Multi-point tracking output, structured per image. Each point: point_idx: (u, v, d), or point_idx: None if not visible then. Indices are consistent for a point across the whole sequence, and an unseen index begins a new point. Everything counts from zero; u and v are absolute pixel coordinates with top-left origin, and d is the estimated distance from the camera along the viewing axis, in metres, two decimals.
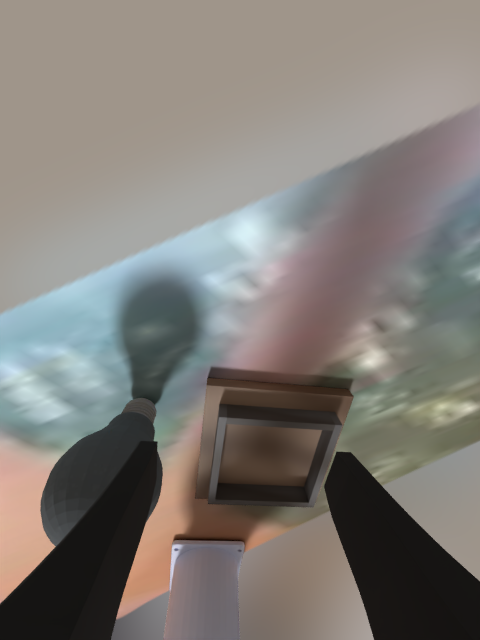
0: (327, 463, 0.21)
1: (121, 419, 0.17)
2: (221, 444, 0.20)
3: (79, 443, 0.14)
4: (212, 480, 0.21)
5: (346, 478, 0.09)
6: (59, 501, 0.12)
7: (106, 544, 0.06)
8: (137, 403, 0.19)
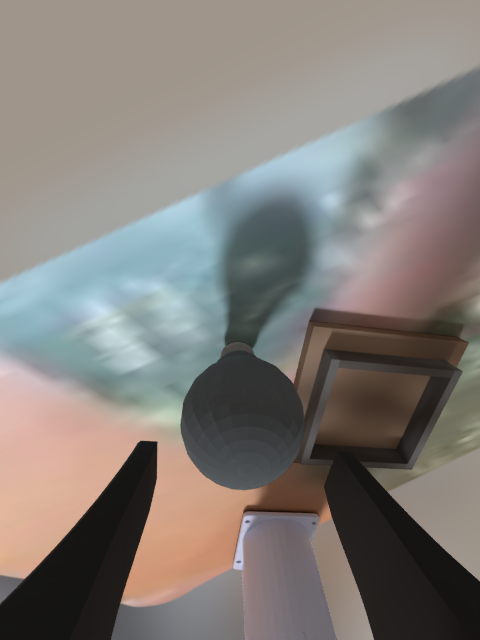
0: (437, 417, 0.19)
1: (235, 355, 0.15)
2: (328, 392, 0.18)
3: (216, 366, 0.12)
4: (310, 436, 0.19)
5: (346, 478, 0.09)
6: (222, 418, 0.10)
7: (106, 544, 0.06)
8: (238, 345, 0.17)
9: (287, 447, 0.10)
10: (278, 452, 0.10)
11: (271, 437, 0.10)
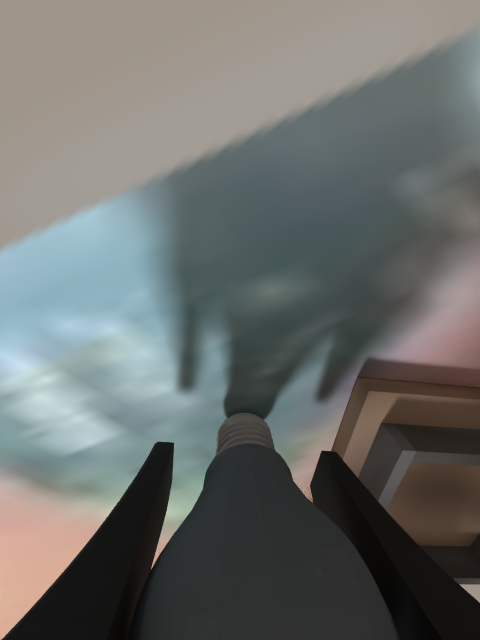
0: None
1: (242, 462, 0.08)
2: (390, 496, 0.11)
3: (203, 550, 0.05)
4: None
5: (330, 477, 0.09)
6: None
7: (133, 544, 0.06)
8: (246, 424, 0.11)
9: None
10: None
11: None
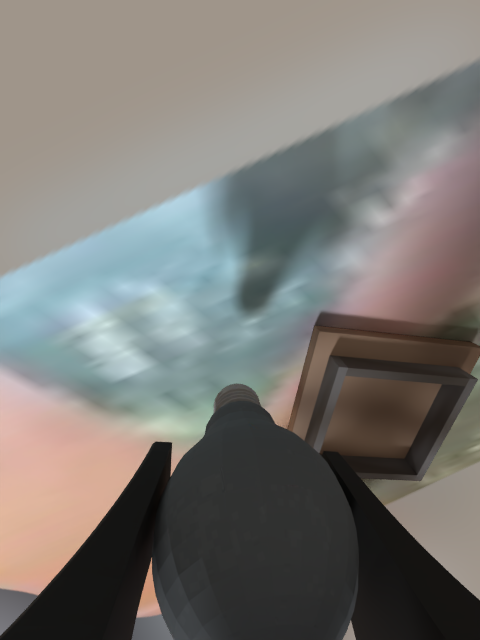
0: (449, 427, 0.18)
1: (235, 411, 0.11)
2: (334, 402, 0.17)
3: (209, 448, 0.07)
4: (315, 447, 0.18)
5: None
6: (224, 576, 0.05)
7: (130, 545, 0.06)
8: (238, 390, 0.13)
9: (345, 617, 0.06)
10: (331, 634, 0.05)
11: (318, 610, 0.05)
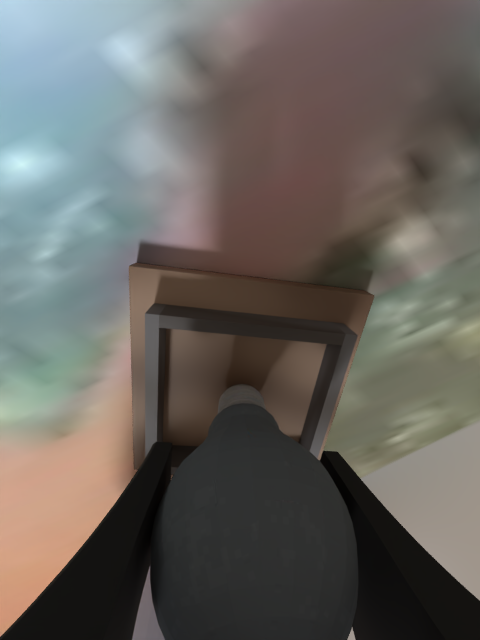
0: (332, 406, 0.13)
1: (237, 414, 0.10)
2: (155, 367, 0.12)
3: (205, 457, 0.07)
4: (148, 433, 0.13)
5: (331, 477, 0.09)
6: (214, 594, 0.05)
7: (131, 544, 0.06)
8: (241, 391, 0.13)
9: (339, 638, 0.05)
10: None
11: (311, 633, 0.05)
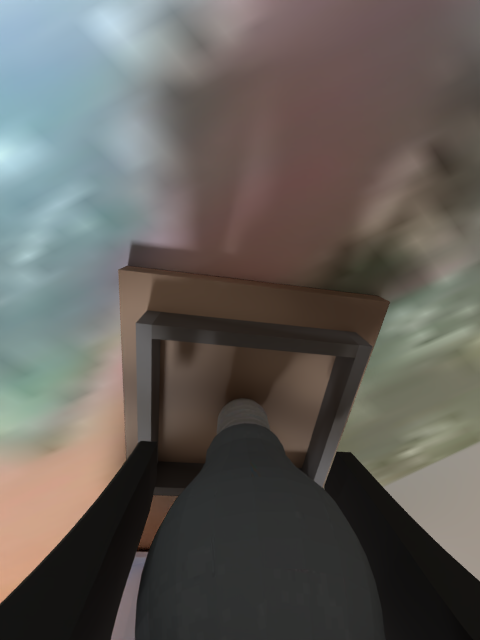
0: (342, 422, 0.12)
1: (238, 438, 0.09)
2: (148, 382, 0.11)
3: (201, 503, 0.06)
4: None
5: (346, 478, 0.09)
6: None
7: (106, 544, 0.06)
8: (243, 407, 0.11)
9: None
10: None
11: None
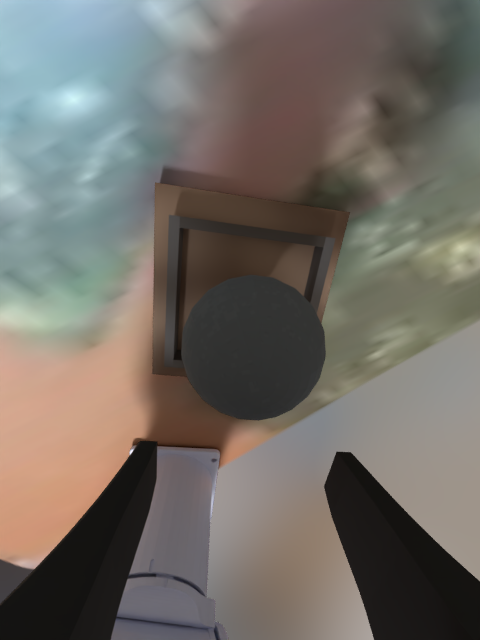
0: (316, 304, 0.16)
1: None
2: (175, 264, 0.15)
3: (219, 284, 0.10)
4: (167, 327, 0.16)
5: (346, 478, 0.09)
6: (229, 323, 0.08)
7: (106, 544, 0.06)
8: None
9: (309, 359, 0.08)
10: (298, 362, 0.08)
11: (289, 343, 0.08)
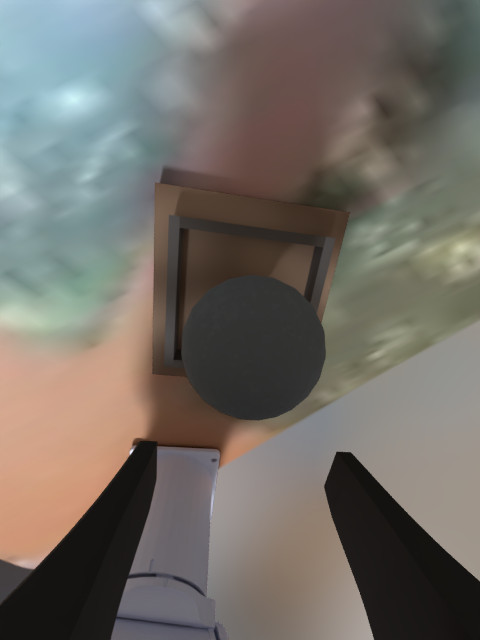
0: (316, 304, 0.16)
1: None
2: (175, 264, 0.15)
3: (219, 284, 0.10)
4: (167, 327, 0.16)
5: (346, 478, 0.09)
6: (229, 323, 0.08)
7: (106, 544, 0.06)
8: None
9: (309, 359, 0.08)
10: (298, 362, 0.08)
11: (289, 343, 0.08)
